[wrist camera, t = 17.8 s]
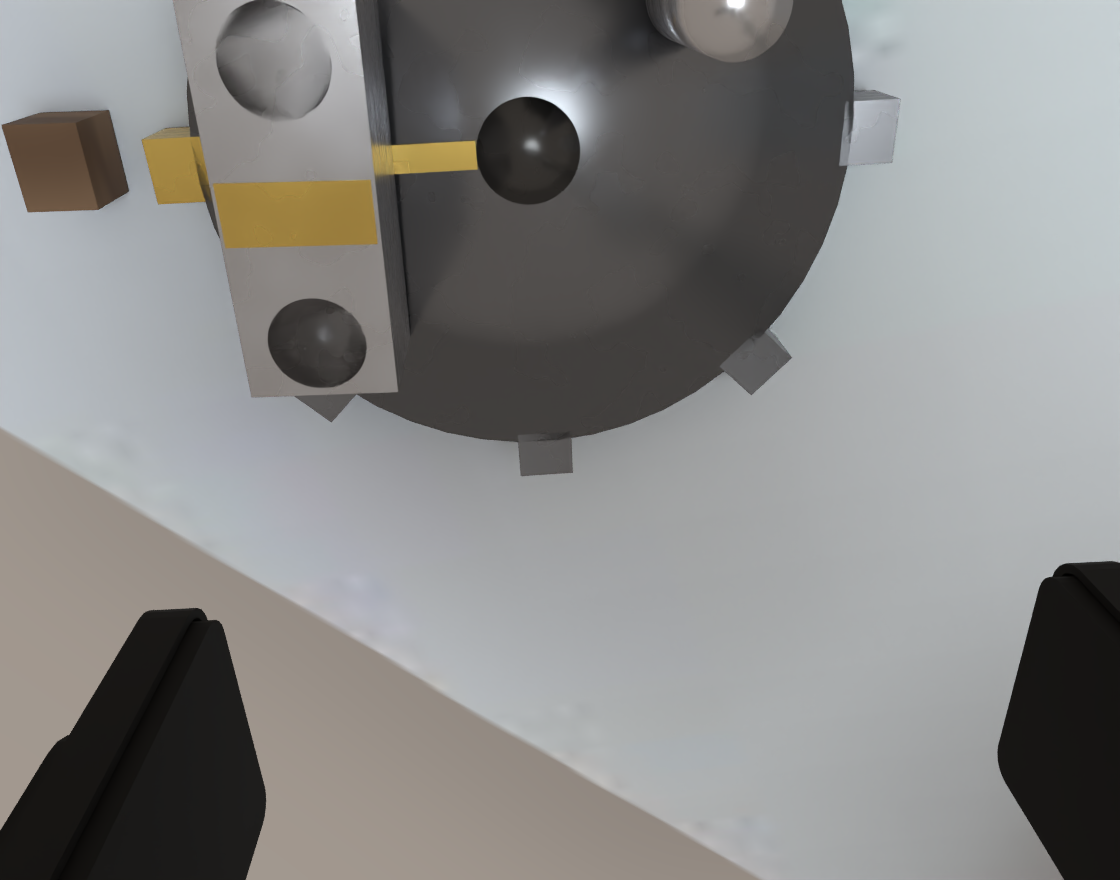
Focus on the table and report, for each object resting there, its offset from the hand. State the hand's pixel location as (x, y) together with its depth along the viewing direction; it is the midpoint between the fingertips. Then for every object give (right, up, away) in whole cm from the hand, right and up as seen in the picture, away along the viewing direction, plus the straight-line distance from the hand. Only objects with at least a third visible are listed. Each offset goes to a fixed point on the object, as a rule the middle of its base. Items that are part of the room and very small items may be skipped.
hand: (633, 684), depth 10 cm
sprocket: (-2, +12, +18) cm, 22 cm away
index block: (-15, +12, +17) cm, 26 cm away
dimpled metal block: (-8, +10, +15) cm, 20 cm away
